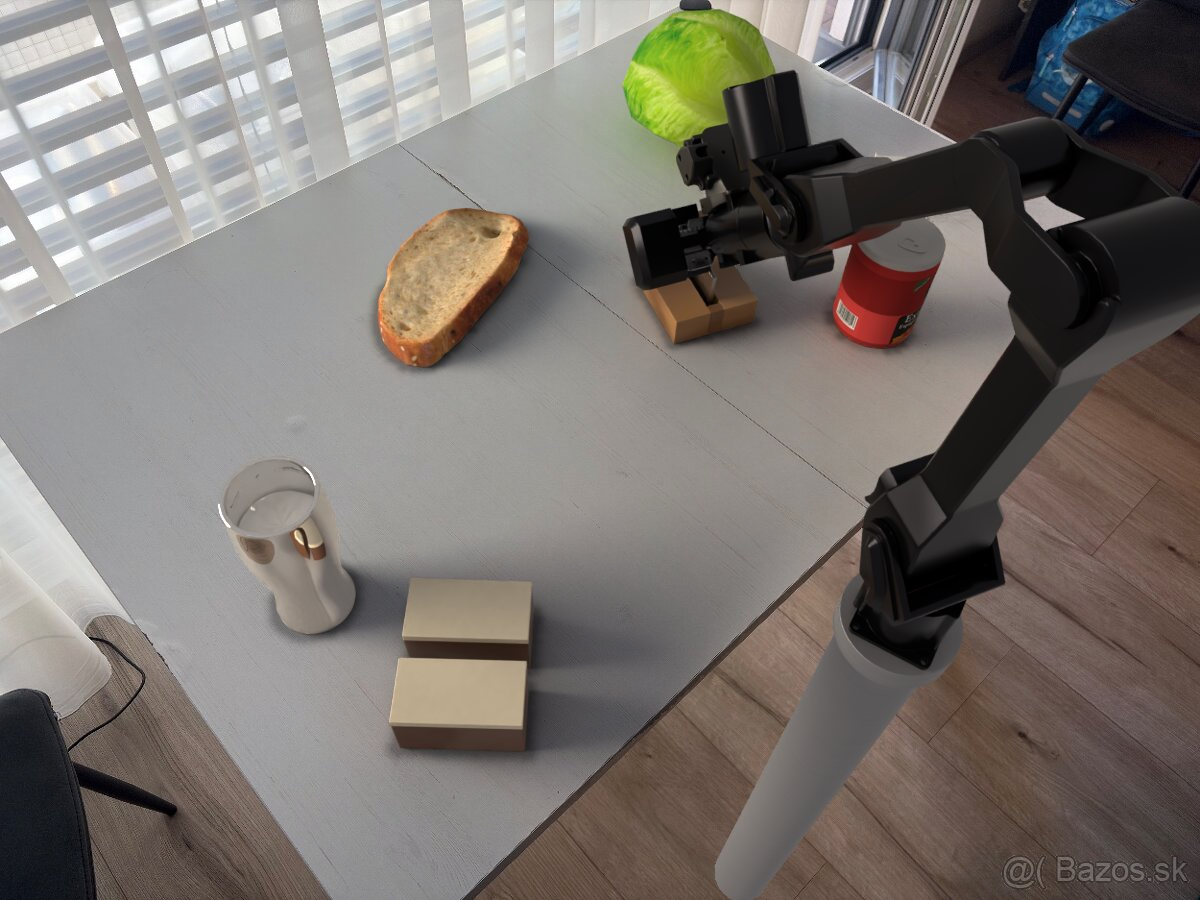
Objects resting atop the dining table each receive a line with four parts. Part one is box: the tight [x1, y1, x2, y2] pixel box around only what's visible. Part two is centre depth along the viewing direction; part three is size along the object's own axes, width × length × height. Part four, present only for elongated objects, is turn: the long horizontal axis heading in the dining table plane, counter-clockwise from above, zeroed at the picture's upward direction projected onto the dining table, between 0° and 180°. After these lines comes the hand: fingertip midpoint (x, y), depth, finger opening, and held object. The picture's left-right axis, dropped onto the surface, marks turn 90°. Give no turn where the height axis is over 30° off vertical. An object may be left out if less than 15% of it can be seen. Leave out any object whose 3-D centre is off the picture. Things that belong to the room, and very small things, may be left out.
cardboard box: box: [642, 256, 759, 345], centre depth 95 cm, size 9×9×3 cm
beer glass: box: [218, 454, 357, 635], centre depth 70 cm, size 7×7×15 cm
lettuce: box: [621, 8, 777, 148], centre depth 107 cm, size 15×20×14 cm
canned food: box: [832, 217, 947, 349], centre depth 91 cm, size 8×8×11 cm
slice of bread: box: [377, 207, 530, 368], centre depth 95 cm, size 18×18×4 cm
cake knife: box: [689, 209, 717, 306], centre depth 92 cm, size 6×2×11 cm, turn 22°
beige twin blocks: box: [388, 577, 535, 752], centre depth 71 cm, size 9×11×5 cm
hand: (696, 238), depth 91 cm, fingers open, 3 cm apart
